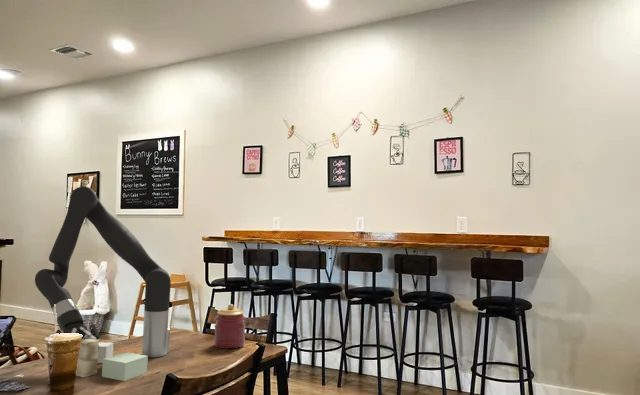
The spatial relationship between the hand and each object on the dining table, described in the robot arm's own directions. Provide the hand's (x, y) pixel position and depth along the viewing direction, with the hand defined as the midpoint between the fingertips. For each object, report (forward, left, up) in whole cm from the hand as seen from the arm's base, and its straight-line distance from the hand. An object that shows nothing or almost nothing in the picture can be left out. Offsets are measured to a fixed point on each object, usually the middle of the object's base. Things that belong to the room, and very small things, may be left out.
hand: (85, 353), depth 163 cm
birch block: (0, +1, -7) cm, 7 cm away
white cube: (-13, -10, -7) cm, 18 cm away
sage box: (-7, +12, -7) cm, 15 cm away
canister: (-58, +13, -7) cm, 60 cm away
